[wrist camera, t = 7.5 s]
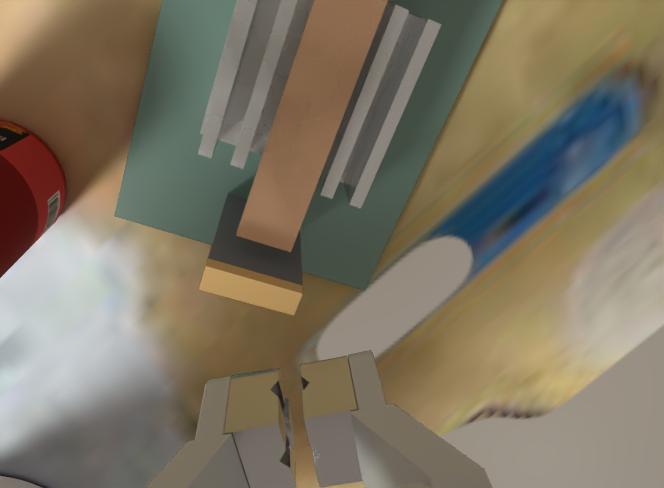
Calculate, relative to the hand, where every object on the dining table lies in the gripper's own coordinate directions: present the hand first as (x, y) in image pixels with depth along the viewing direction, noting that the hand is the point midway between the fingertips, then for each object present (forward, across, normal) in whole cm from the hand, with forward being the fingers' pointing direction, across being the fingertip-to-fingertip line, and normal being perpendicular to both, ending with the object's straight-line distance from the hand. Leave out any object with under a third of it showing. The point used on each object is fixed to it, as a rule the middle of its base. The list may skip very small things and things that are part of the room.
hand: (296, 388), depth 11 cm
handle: (+18, -2, -3) cm, 18 cm away
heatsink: (+25, -2, -3) cm, 25 cm away
